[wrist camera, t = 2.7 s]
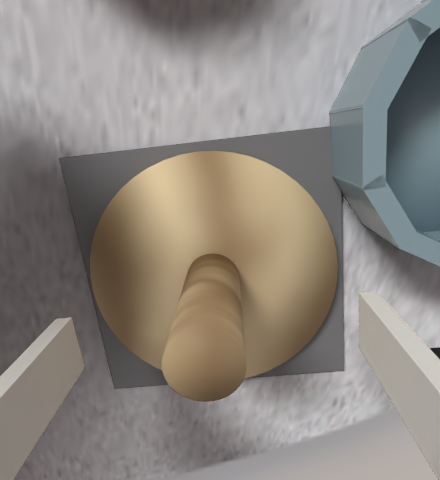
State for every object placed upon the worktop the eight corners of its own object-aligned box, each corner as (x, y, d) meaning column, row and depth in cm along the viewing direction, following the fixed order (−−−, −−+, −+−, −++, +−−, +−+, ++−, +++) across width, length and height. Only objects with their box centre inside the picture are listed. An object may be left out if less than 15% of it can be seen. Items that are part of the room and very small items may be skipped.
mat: (115, 385, 25) (114, 388, 25) (61, 157, 20) (59, 158, 20) (342, 367, 24) (343, 370, 24) (339, 125, 20) (340, 125, 19)
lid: (120, 382, 25) (59, 520, 16) (69, 166, 20) (-52, 191, 11) (335, 364, 24) (399, 500, 15) (331, 135, 19) (417, 138, 11)
